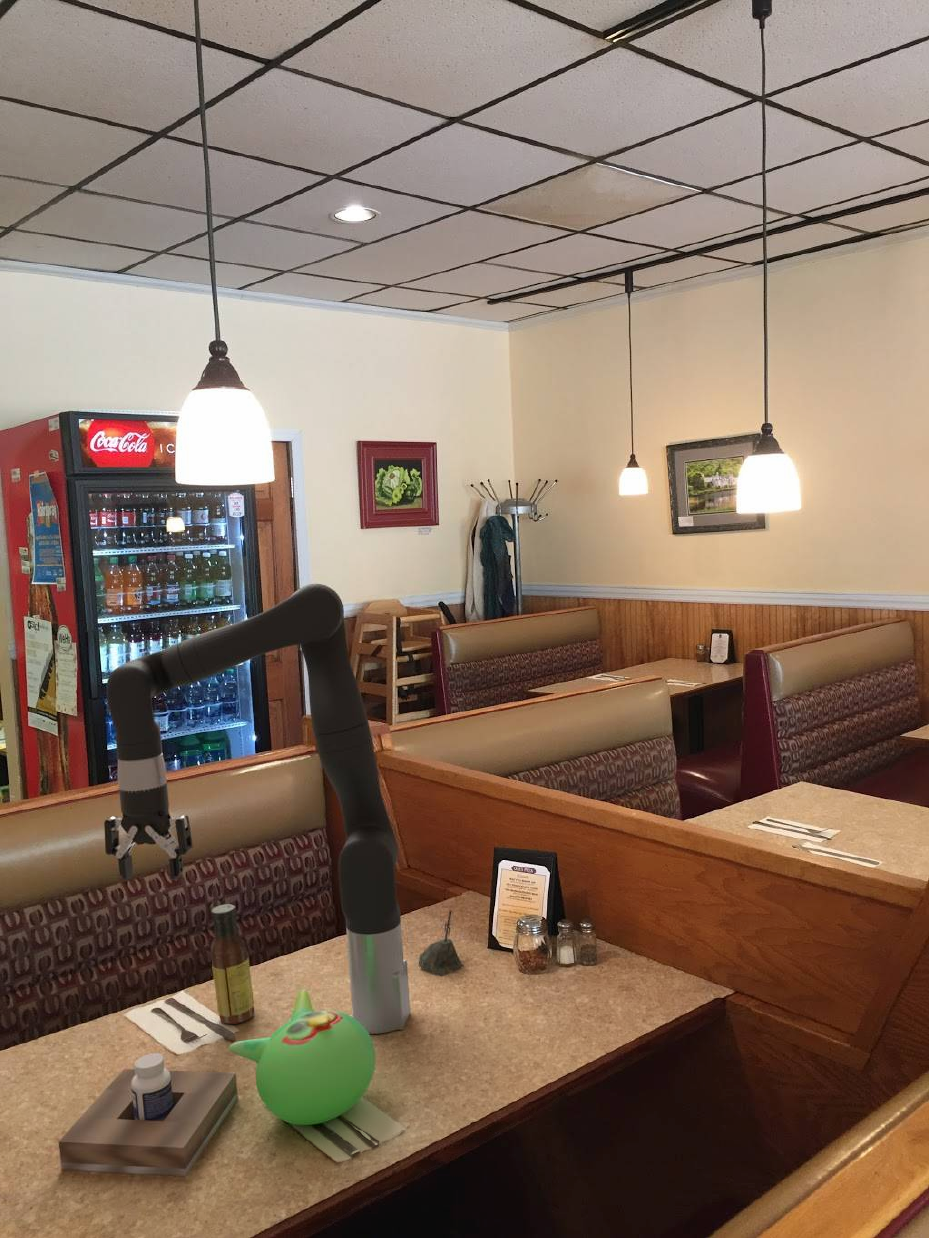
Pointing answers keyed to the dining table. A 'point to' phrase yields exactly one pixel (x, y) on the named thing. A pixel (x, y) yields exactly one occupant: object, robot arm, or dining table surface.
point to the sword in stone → (440, 956)
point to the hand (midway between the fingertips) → (151, 878)
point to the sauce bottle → (231, 968)
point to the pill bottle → (151, 1089)
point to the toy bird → (311, 1064)
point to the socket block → (149, 1127)
